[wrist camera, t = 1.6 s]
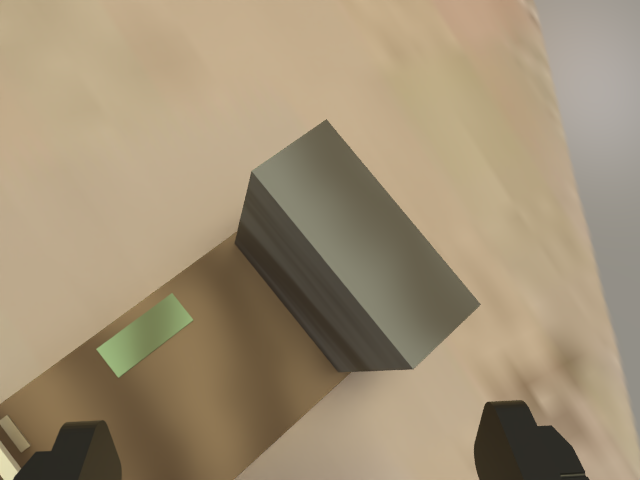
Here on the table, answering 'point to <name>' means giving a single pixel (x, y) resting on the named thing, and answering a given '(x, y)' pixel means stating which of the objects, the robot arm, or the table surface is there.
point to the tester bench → (254, 325)
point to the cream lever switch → (7, 464)
